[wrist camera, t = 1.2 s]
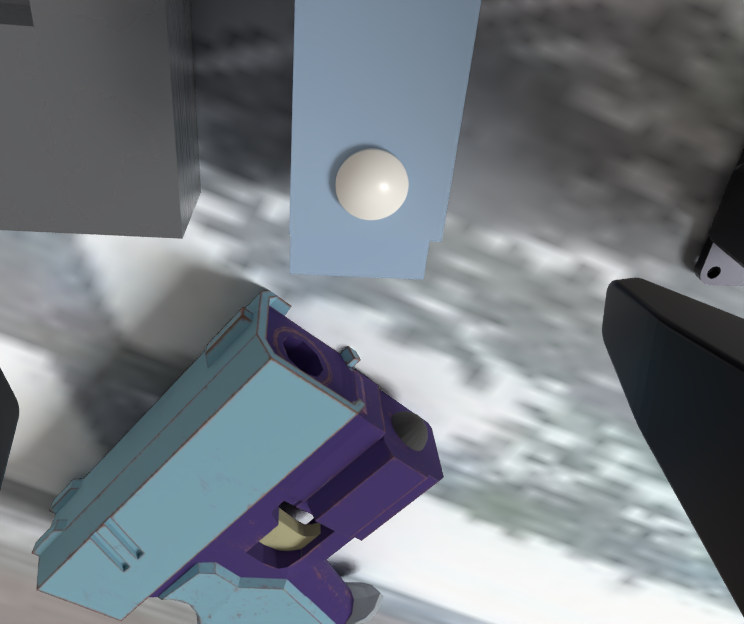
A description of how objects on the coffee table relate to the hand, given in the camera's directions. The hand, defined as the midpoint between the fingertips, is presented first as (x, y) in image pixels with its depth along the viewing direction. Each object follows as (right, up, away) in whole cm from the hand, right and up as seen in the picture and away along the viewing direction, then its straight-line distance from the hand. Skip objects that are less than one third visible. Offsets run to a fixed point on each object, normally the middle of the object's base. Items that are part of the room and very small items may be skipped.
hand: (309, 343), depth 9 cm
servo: (+1, +8, +10) cm, 12 cm away
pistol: (-3, -7, +20) cm, 21 cm away
